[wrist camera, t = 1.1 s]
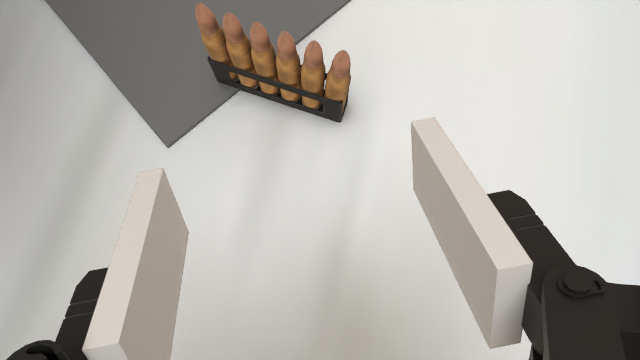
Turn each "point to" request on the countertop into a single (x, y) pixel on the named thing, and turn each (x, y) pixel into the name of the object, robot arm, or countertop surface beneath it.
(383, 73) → the countertop surface
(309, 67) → the ammunition clip
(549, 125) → the countertop surface
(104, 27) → the rubber mat
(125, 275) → the robot arm
